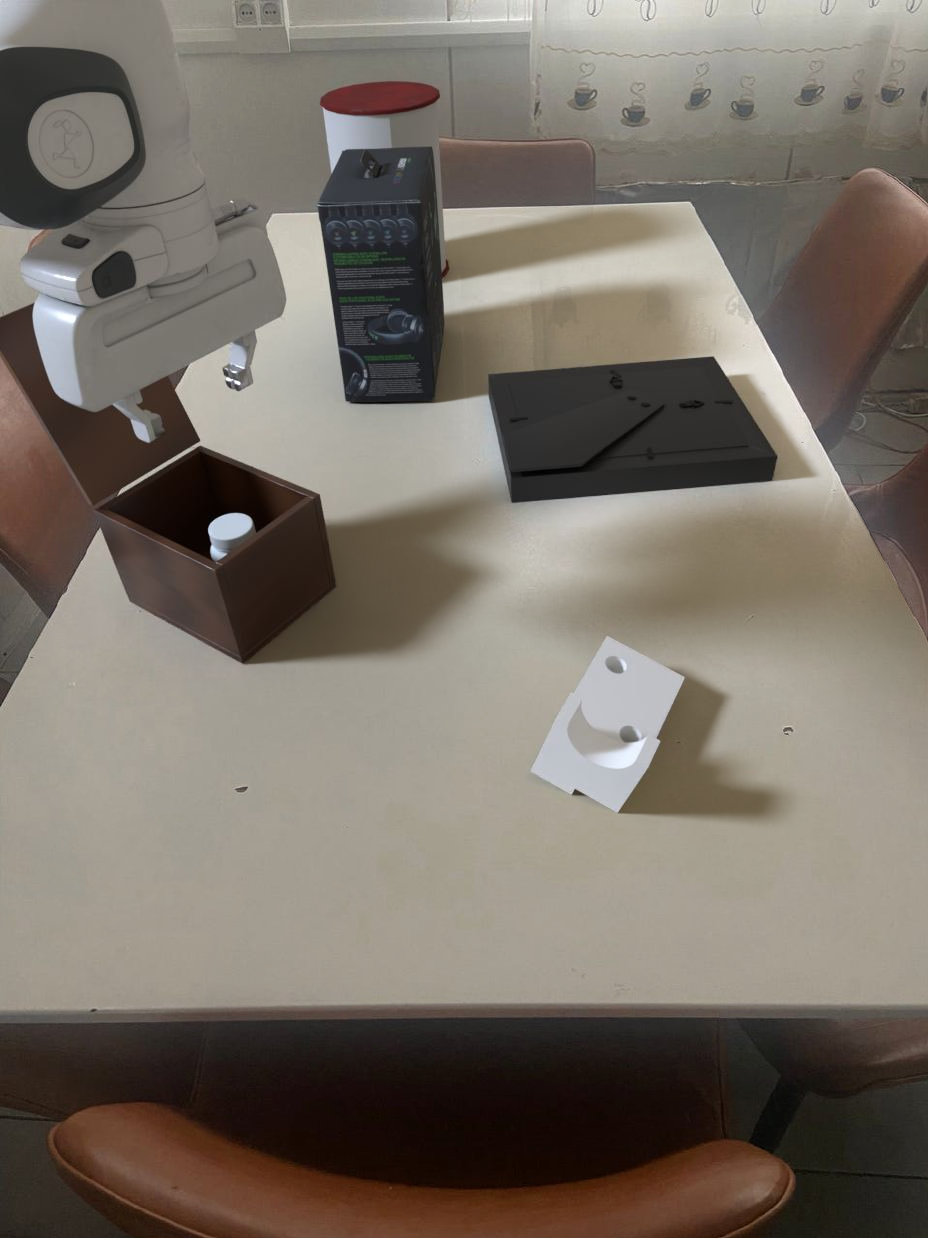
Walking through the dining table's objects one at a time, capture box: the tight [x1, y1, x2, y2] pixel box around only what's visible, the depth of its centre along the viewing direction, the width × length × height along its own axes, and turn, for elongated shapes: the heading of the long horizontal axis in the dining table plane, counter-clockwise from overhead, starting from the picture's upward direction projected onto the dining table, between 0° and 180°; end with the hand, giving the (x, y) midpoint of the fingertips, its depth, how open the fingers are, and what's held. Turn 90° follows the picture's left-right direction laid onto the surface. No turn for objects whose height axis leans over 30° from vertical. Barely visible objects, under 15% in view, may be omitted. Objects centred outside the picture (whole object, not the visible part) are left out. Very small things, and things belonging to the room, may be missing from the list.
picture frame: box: [487, 355, 779, 503], centre depth 103 cm, size 23×4×28 cm
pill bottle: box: [208, 513, 256, 562], centre depth 81 cm, size 5×5×8 cm
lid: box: [0, 301, 201, 507], centre depth 78 cm, size 16×13×1 cm
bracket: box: [530, 635, 686, 814], centre depth 68 cm, size 13×7×8 cm, turn 152°
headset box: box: [316, 146, 445, 403], centre depth 111 cm, size 22×12×26 cm, turn 178°
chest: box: [93, 445, 337, 664], centre depth 82 cm, size 16×13×11 cm
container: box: [319, 80, 450, 278], centre depth 136 cm, size 17×17×25 cm
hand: (197, 410), depth 71 cm, fingers open, 8 cm apart
